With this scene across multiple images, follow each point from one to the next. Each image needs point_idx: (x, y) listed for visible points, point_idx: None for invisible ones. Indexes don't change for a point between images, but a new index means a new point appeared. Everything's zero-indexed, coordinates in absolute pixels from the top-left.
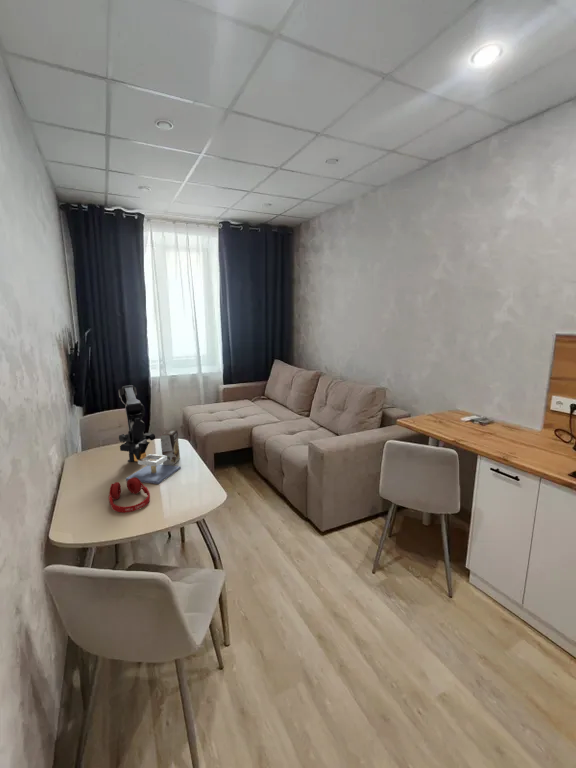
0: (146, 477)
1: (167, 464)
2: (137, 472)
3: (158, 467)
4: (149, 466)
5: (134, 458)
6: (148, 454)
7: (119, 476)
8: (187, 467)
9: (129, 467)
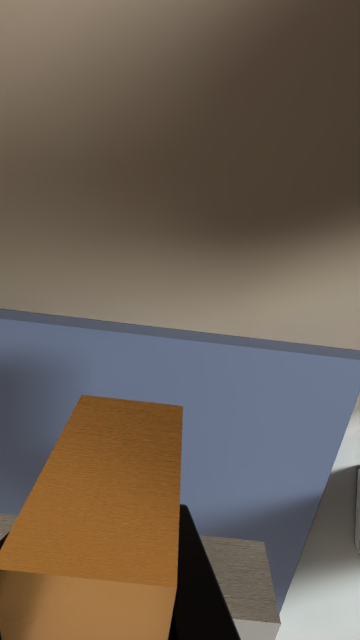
0: (18, 490)
1: (356, 502)
2: (101, 351)
3: (250, 488)
4: (276, 394)
5: (63, 436)
6: (247, 626)
7: (6, 142)
8: (287, 633)
9: (308, 83)
